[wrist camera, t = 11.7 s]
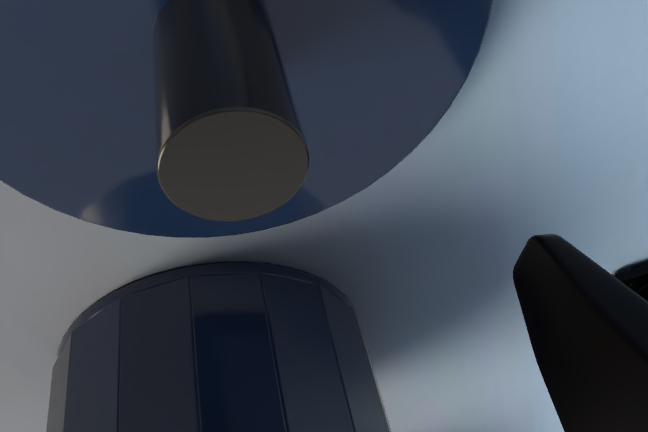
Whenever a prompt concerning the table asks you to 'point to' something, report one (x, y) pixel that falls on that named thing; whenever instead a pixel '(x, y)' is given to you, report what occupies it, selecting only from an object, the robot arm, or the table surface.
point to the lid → (221, 104)
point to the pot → (217, 357)
